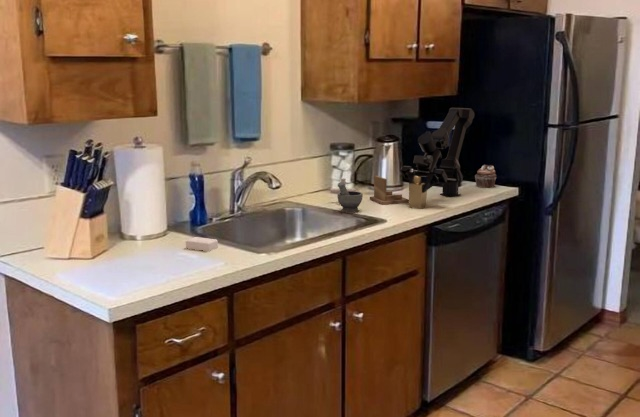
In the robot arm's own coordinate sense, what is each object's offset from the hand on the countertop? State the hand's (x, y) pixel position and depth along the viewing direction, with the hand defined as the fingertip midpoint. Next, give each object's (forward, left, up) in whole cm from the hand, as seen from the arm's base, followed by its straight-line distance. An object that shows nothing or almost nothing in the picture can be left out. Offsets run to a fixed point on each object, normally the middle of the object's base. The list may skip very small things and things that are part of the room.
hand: (416, 191), depth 263 cm
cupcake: (-57, -14, -7) cm, 60 cm away
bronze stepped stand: (0, -16, -7) cm, 18 cm away
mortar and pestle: (+25, -11, -7) cm, 28 cm away
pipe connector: (+17, -25, -7) cm, 31 cm away
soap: (+94, +3, -7) cm, 94 cm away
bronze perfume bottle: (-1, 0, -7) cm, 7 cm away
